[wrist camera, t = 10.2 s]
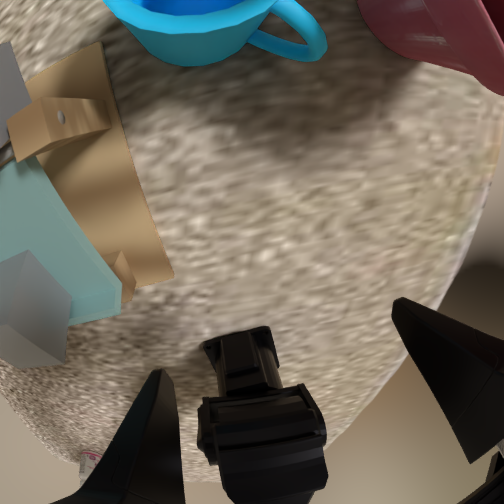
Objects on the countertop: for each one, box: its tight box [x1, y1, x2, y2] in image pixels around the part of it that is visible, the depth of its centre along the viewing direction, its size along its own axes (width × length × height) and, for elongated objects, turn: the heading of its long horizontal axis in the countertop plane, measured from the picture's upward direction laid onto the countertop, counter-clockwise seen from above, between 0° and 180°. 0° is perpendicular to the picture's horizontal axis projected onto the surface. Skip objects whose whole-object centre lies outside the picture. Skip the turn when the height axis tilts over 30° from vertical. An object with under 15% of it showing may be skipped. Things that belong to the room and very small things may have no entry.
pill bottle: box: [79, 450, 102, 487], centre depth 33 cm, size 5×5×8 cm
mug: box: [103, 0, 328, 67], centre depth 10 cm, size 12×8×8 cm
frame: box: [0, 41, 174, 303], centre depth 13 cm, size 18×18×9 cm
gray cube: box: [0, 249, 72, 369], centre depth 13 cm, size 5×5×5 cm
